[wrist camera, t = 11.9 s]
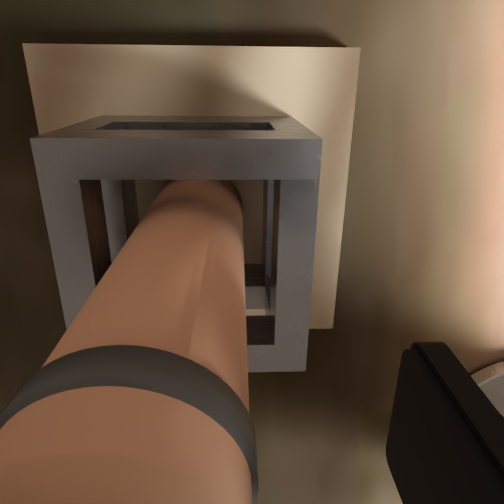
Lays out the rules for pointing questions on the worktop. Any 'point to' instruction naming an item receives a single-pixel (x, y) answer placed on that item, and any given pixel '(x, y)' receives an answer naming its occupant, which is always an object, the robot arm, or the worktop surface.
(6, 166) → the worktop surface
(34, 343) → the worktop surface
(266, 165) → the collar stand
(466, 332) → the worktop surface
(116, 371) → the peg
